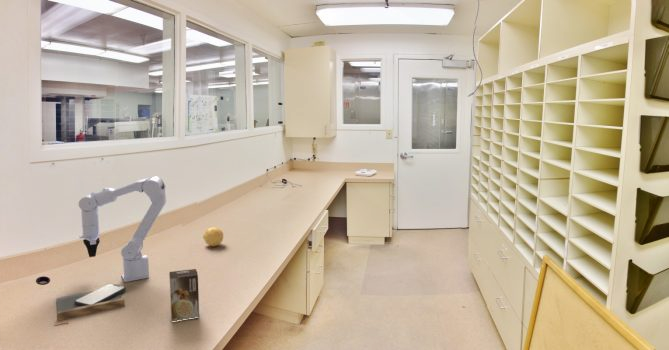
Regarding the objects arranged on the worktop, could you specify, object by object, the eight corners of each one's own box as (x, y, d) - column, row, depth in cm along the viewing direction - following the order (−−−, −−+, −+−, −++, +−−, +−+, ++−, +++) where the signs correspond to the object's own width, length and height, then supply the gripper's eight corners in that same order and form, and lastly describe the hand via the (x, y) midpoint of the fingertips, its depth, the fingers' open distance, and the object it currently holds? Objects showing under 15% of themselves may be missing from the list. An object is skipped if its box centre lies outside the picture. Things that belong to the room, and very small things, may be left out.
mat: (117, 286, 161) (116, 285, 160) (124, 304, 147) (124, 303, 146) (56, 298, 149) (56, 297, 149) (57, 319, 135) (57, 317, 135)
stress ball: (214, 243, 217) (199, 233, 213) (226, 230, 217) (212, 220, 213) (214, 253, 208) (199, 242, 204) (227, 239, 208) (212, 228, 204)
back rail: (124, 304, 147) (123, 297, 146) (124, 305, 145) (124, 299, 145) (57, 318, 135) (57, 311, 134) (58, 320, 134) (57, 313, 133)
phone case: (91, 309, 141) (127, 290, 156) (91, 305, 141) (127, 286, 156) (72, 305, 144) (109, 286, 159) (72, 301, 144) (109, 282, 159)
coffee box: (197, 310, 144) (197, 268, 142) (199, 319, 138) (198, 275, 136) (170, 314, 141) (169, 271, 138) (170, 323, 135) (169, 278, 132)
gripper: (77, 221, 166) (79, 252, 168) (80, 230, 154) (82, 263, 156) (97, 219, 170) (98, 249, 172) (101, 227, 158) (103, 260, 160)
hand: (92, 256), depth 164 cm, fingers closed
